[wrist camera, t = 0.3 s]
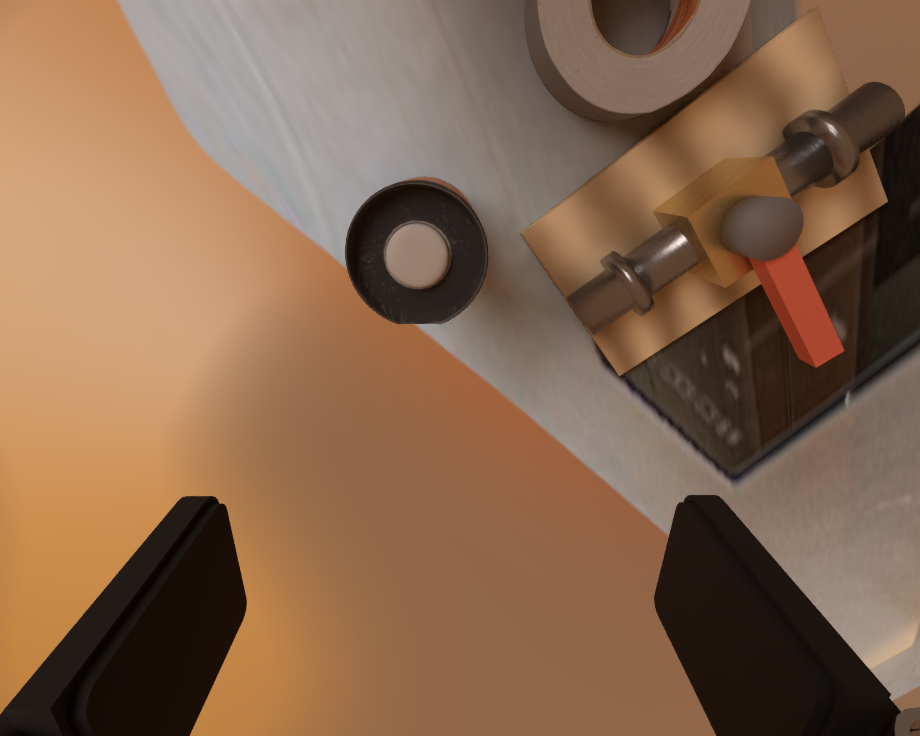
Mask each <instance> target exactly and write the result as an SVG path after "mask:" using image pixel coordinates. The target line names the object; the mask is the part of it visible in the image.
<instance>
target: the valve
mask: <svg viewBox="0 0 920 736" xmlns="http://www.w3.org/2000/svg"><path fill="white" fill-rule="evenodd" d="M904 116H905V108H904V104H903V101H902V99H901V98H900V96H899V95H898V94H897V92H896V91H895V90H893V89H892V88H891V87H889V86H887V85H885V84H883V83H878V82H870V83H866V84H864V85H863V86H861V87H860V88H858V89H857V90H855V91H854V92H853V93H851V94H850V95H848V96H847V97H846V98H844V99H843V100H841V101H840V102H839V103H837V104H836V105H834V106H833V107H832V108H830V109H829V110H828V111H822V110H809V111H806V112H804V113H802V114H801V115H800V116H798V117H797V118H796V119H794V120H793V121H791V122H790V123H789V124H787V125H786V126H785V128H784V129H783V131H782V133H783V136H784V138H785V140H786V141H784V142H783V143H781V144H780V145H779V146H777V147H776V148H774V149H773V150H772V151H770V152H769V153H767V154H766V155H765V156H763V157H748V158H729V159H723V160H721V161H720V162H718V163H717V164H716V165H714V166H713V167H712V168H710V169H709V170H707V171H706V172H705V173H703V174H702V175H701V176H699V177H698V178H696V179H695V180H694V181H692V182H691V183H690V184H688V185H687V186H686V187H684V188H683V189H681V190H680V191H679V192H677V193H676V194H675V195H673V196H672V197H670V198H669V199H668V200H666V201H665V202H664V203H662V204H661V205H659V206H658V207H657V208H655V209H654V210H653V213H654V215H655V217H656V218H657V220H658V222H659V224H660V226H661V227H662V229H661V230H660V231H658V232H657V233H656V234H654V235H653V236H652V237H650V238H649V239H647V240H646V241H645V242H643V243H642V244H640V245H639V246H638V247H636V248H635V249H633V250H632V251H631V252H629V253H628V254H626V255H625V256H624V257H622V256H621V255H620V254H618V253H617V252H615V251H612V252H610V253H609V254H608V255H606V256H605V257H603V258H602V259H601V260H600V263H601V265H602V266H603V268H604V269H605V270H604V271H603V272H601V273H600V274H598V275H597V276H596V277H594V278H593V279H591V280H590V281H589V282H587V283H586V284H584V285H583V286H582V287H580V288H579V289H577V290H576V291H575V292H573V293H572V294H571V295H569V296H568V297H566V298H567V300H568V302H569V303H570V305H571V306H572V308H573V309H574V311H575V312H576V314H577V315H578V316H579V318H580V319H581V321H582V322H583V323H584V325H585V326H586V327H587V328H588V330H589V331H590V332H591V333H592V334H593V335H596V334H597V333H599V332H600V331H602V330H603V329H605V328H606V327H608V326H609V325H611V324H612V323H614V322H615V321H616V320H618V319H619V318H621V317H622V316H624V315H625V314H627V313H628V312H630V311H631V310H633V311H634V312H636V313H637V314H638V315H639V316H644V315H645V314H646V313H648V312H649V311H651V310H652V309H654V308H655V303H654V301H653V298H652V296H653V295H654V294H656V293H657V292H659V291H660V290H662V289H663V288H665V287H666V286H668V285H669V284H671V283H672V282H674V281H675V280H676V279H678V278H679V277H681V276H682V275H684V274H685V273H690V274H692V275H695V276H697V277H700V278H702V279H705V280H707V281H709V282H712V283H714V284H717V285H719V286H722V287H724V288H726V287H728V286H729V285H731V284H732V283H734V282H735V281H737V280H738V279H740V278H741V277H743V276H744V275H746V274H747V273H749V272H750V271H752V270H753V269H754V268H753V266H752V264H751V262H750V260H749V258H748V257H745V256H742V255H738V254H735V253H733V252H731V251H730V250H728V249H727V248H726V246H725V245H724V243H723V240H722V225H723V222H724V219H725V217H726V215H727V214H728V212H729V211H730V210H731V208H732V207H733V206H734V205H736V204H737V203H738V202H740V201H741V200H743V199H745V198H748V197H751V196H770V197H784V198H789V199H791V200H793V199H795V198H796V197H798V196H799V195H801V194H802V193H804V192H805V191H807V190H808V189H810V188H811V187H813V186H816V187H819V188H831V187H834V186H836V185H837V184H839V183H840V182H842V181H843V180H845V179H846V178H848V177H849V176H851V175H852V174H853V173H854V172H855V171H856V169H857V167H858V165H859V161H860V154H861V153H862V152H864V151H865V150H867V149H868V148H870V147H871V146H872V145H874V144H875V143H877V142H878V141H880V140H881V139H883V138H884V137H886V136H887V135H889V134H890V133H892V132H893V131H894V130H896V129H897V128H898V127H900V125H901V124H902V122H903V120H904ZM806 234H807V232H806V230H805V228H804V226H803V229H802V232H801V235H800V237H799V239H800V238H802V237H803V236H805V235H806ZM799 239H798V240H799Z"/></svg>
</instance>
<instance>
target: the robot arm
mask: <svg viewBox="0 0 920 736" xmlns="http://www.w3.org/2000/svg"><path fill="white" fill-rule="evenodd" d="M654 601H655V608H656V612H657V614H658V616H659V618H660V621H661V623H662V625H663V626H664V629H665V631H666V633H667V635H668V637H669V639H670V641H671V643H672V645H673V647H674V649H675V651H676V654H677V656H678V658H679V660H680V662H681V664H682V666H683V668H684V670H685V672H686V674H687V676H688V678H689V680H690V682H691V684H692V686H693V688H694V691H695V693H696V695H697V697H698V699H699V701H700V703H701V705H702V707H703V709H704V711H705V713H706V715H707V717H708V719H709V721H710V724H711V726H712V728H713V730H714V732H715V734H716V736H920V708H919V707H918V708H909V709H904V710H903V711H902V712H901V711H900V710H899V709H898V708H897V706H896V705H895V704H894V703H893V702H892V701H891V699H890V698H889V697H890V695H891V694H890V693H889V691H888V690H887V689H886V688H885V687H884V686H883V685H882V683H881V682H880V681H879V680H878V679H877V678H876V676H875V675H874V674H873V673H872V672H871V671H870V669H869V668H868V667H867V666H866V665H865V664H864V663H863V661H862V660H861V659H860V658H859V657H858V656H857V654H856V653H855V652H854V651H853V650H852V649H851V647H850V646H849V645H848V644H847V643H846V642H845V641H844V639H843V638H842V637H841V636H840V635H839V634H838V632H837V631H836V630H835V629H834V628H833V627H832V626H831V624H830V623H829V622H828V621H827V620H826V619H825V617H824V616H823V615H822V614H821V613H820V612H819V610H818V609H817V608H816V607H815V606H814V605H813V604H812V602H811V601H810V600H809V599H808V598H807V597H806V595H805V594H804V593H803V592H802V591H801V590H800V588H799V587H798V586H797V585H796V584H795V583H794V582H793V580H792V579H791V578H790V577H789V576H788V575H787V573H786V572H785V571H784V570H783V569H782V568H781V566H780V565H779V564H778V563H777V562H776V561H775V560H774V558H773V557H772V556H771V555H770V554H769V553H768V551H767V550H766V549H765V548H764V547H763V546H762V544H761V543H760V542H759V541H758V540H757V539H756V538H755V536H754V535H753V534H752V533H751V532H750V531H749V529H748V528H747V527H746V526H745V525H744V524H743V522H742V521H741V520H740V519H739V518H738V517H737V516H736V514H735V513H734V512H733V511H732V510H731V509H730V507H729V506H728V505H727V504H726V503H725V502H724V500H723V499H721V498H720V497H719V496H716V495H689V496H687V497H686V498H685V499H684V502H681V503H679V504H678V505H677V507H676V510H675V514H674V518H673V522H672V526H671V530H670V534H669V539H668V543H667V547H666V551H665V555H664V559H663V563H662V567H661V571H660V575H659V579H658V583H657V587H656V591H655V596H654ZM246 606H247V600H246V595H245V590H244V585H243V580H242V576H241V571H240V567H239V562H238V557H237V553H236V548H235V544H234V539H233V535H232V530H231V526H230V521H229V516H228V512H227V508H226V506H225V505H224V504H219V502H218V500H217V498H216V497H213V496H186V497H182V498H181V499H180V500H179V501H178V502H177V503H176V504H175V506H174V507H173V508H172V509H171V510H170V511H169V513H168V514H167V515H166V516H165V517H164V519H163V520H162V521H161V522H160V523H159V525H158V526H157V527H156V528H155V529H154V531H153V532H152V533H151V534H150V535H149V537H148V538H147V539H146V540H145V541H144V542H143V544H142V545H141V546H140V547H139V548H138V550H137V551H136V552H135V554H133V556H132V557H131V558H130V559H129V561H128V562H127V563H126V564H125V565H124V566H123V568H122V569H121V570H120V571H119V572H118V574H117V575H116V576H115V577H114V579H113V580H112V581H111V582H110V583H109V584H108V586H107V587H106V588H105V589H104V591H103V592H102V593H101V594H100V595H99V596H98V598H97V599H96V600H95V601H94V603H93V604H92V605H91V606H90V607H89V608H88V610H87V611H86V612H85V613H84V614H83V616H82V617H81V618H80V619H79V620H78V622H77V623H76V624H75V625H74V626H73V628H72V629H71V630H70V631H69V633H68V634H67V635H66V636H65V637H64V638H63V640H62V641H61V642H60V643H59V644H58V646H57V647H56V648H55V649H54V650H53V652H52V653H51V654H50V655H49V656H48V658H47V659H46V660H45V661H44V662H43V664H42V665H41V666H40V667H39V668H38V670H37V671H36V672H35V673H34V674H33V676H32V677H31V678H30V679H29V680H28V682H27V683H26V684H25V685H24V686H23V688H22V689H21V690H20V691H19V692H18V694H17V695H16V696H15V697H14V698H13V700H12V701H11V702H10V703H9V704H8V706H7V707H6V708H5V709H4V711H3V712H2V713H1V714H0V736H190V734H191V731H192V729H193V727H194V725H195V723H196V720H197V718H198V716H199V714H200V712H201V710H202V707H203V705H204V703H205V701H206V699H207V697H208V695H209V692H210V690H211V688H212V686H213V684H214V681H215V679H216V677H217V675H218V673H219V671H220V668H221V666H222V664H223V662H224V660H225V658H226V655H227V653H228V651H229V649H230V647H231V645H232V642H233V640H234V638H235V636H236V634H237V632H238V629H239V627H240V625H241V623H242V621H243V618H244V616H245V612H246Z"/></svg>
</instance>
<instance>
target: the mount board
mask: <svg viewBox="0 0 920 736" xmlns="http://www.w3.org/2000/svg"><path fill="white" fill-rule="evenodd" d="M848 95H849V92H848V90H847V87H846V84H845V81H844V78H843V76H842V73H841V70H840V67H839V65H838V62H837V59H836V56H835V53H834V51H833V48H832V45H831V42H830V40H829V37H828V34H827V31H826V28H825V26H824V23H823V20H822V18H821V15H820V12H819V9H818V7H816V8H814V9H812V10H809V11H808V12H806V13H805V14H804V15H802V16H801V17H800V18H799V19H797V20H796V21H795V22H793V23H792V24H791V25H789V26H788V27H787V28H786V29H784V30H783V31H782V32H780V33H779V34H778V35H777V36H775V37H774V38H773V39H771V40H770V41H769V42H767V43H766V44H765V45H764V46H762V47H761V48H760V49H758V50H757V51H756V52H755V53H753V54H752V55H751V56H749V57H748V58H747V59H745V60H744V61H743V62H742V63H740V64H739V65H738V66H736V67H735V68H734V69H732V70H731V71H730V72H729V73H727V74H726V75H725V76H723V77H722V78H721V79H720V80H718V81H717V82H716V83H714V84H713V85H712V86H710V87H709V88H708V89H707V90H705V91H704V92H703V93H701V94H700V95H699V96H698V97H696V98H695V99H694V100H692V101H691V102H690V103H688V104H687V105H686V106H685V107H683V108H682V109H681V110H679V111H678V112H677V113H676V114H674V115H673V116H672V117H670V118H669V119H668V120H666V121H665V122H664V123H663V124H661V125H660V126H659V127H657V128H656V129H655V130H654V131H652V132H651V133H650V134H648V135H647V136H646V137H644V138H643V139H642V140H641V141H639V142H638V143H637V144H635V145H634V146H633V147H632V148H630V149H629V150H628V151H626V152H625V153H624V154H622V155H621V156H620V157H619V158H617V159H616V160H615V161H613V162H612V163H611V164H610V165H608V166H607V167H606V168H604V169H603V170H602V171H600V172H599V173H598V174H597V175H595V176H594V177H593V178H591V179H590V180H589V181H587V182H586V183H585V184H584V185H582V186H581V187H580V188H578V189H577V190H576V191H575V192H573V193H572V194H571V195H569V196H568V197H567V198H565V199H564V200H563V201H562V202H560V203H559V204H558V205H556V206H555V207H554V208H553V209H551V210H550V211H549V212H547V213H546V214H545V215H543V216H542V217H541V218H540V219H538V220H537V221H536V222H534V223H533V224H532V225H531V226H529V227H528V228H527V229H525V230H524V231H523V232H521V233H520V234H521V235H522V237H523V238H524V240H525V241H526V242H527V244H528V245H529V247H530V248H531V250H532V251H533V253H534V254H535V255H536V257H537V258H538V260H539V261H540V263H541V264H542V266H543V267H544V268H545V270H546V271H547V273H548V274H549V276H550V277H551V279H552V280H553V281H554V283H555V284H556V286H557V287H558V289H559V290H560V292H561V293H562V294H563V296H564V297H565V299H566V300H567V298H566V297H568V296H569V295H571V294H572V293H573V292H575V291H576V290H577V289H579V288H580V287H582V286H583V285H584V284H586V283H587V282H589V281H590V280H591V279H593V278H594V277H596V276H597V275H598V274H600V273H601V272H603V271H604V270H605V269H604V268H603V266H602V265H601V263H600V260H601V259H602V258H603V257H605V256H606V255H608V254H609V253H610V252H612V251H615V252H617V253H618V254H620V255H621V256H622V257H624V256H625V255H626V254H628V253H629V252H631V251H632V250H633V249H635V248H636V247H638V246H639V245H640V244H642V243H643V242H645V241H646V240H647V239H649V238H650V237H652V236H653V235H654V234H656V233H657V232H658V231H660V230H661V229H662V227H661V226H660V224H659V222H658V220H657V218H656V217H655V215H654V213H653V210H654V209H655V208H657V207H658V206H659V205H661V204H662V203H664V202H665V201H666V200H668V199H669V198H670V197H672V196H673V195H675V194H676V193H677V192H679V191H680V190H681V189H683V188H684V187H686V186H687V185H688V184H690V183H691V182H692V181H694V180H695V179H696V178H698V177H699V176H701V175H702V174H703V173H705V172H706V171H707V170H709V169H710V168H712V167H713V166H714V165H716V164H717V163H718V162H720V161H721V160H723V159H729V158H748V157H763V156H765V155H766V154H767V153H769V152H770V151H772V150H773V149H774V148H776V147H777V146H779V145H780V144H781V143H783V142H784V141H786V140H785V138H784V136H783V133H782V131H783V129H784V128H785V126H786V125H787V124H789V123H790V122H791V121H793V120H794V119H796V118H797V117H798V116H800V115H801V114H802V113H804V112H806V111H809V110H822V111H828V110H829V109H830V108H832V107H833V106H834V105H836V104H837V103H839V102H840V101H841V100H843V99H844V98H846V97H847V96H848ZM793 201H795V202H796V203H797V204H798V205H799V206H800V208H801V210H802V213H803V217H804V223H803V226H804V228H805V230H806V232H807V234H806V235H805V236H803V237H802V238H800V239H799V240H797V242H796V245H797V247H798V250H799V252H800V254H801V256H802V257H803V256H805V255H806V254H808V253H809V252H811V251H812V250H814V249H816V248H817V247H819V246H820V245H822V244H823V243H825V242H826V241H828V240H829V239H831V238H832V237H834V236H836V235H837V234H839V233H840V232H842V231H843V230H845V229H846V228H848V227H849V226H851V225H852V224H854V223H855V222H857V221H859V220H860V219H862V218H863V217H865V216H866V215H868V214H869V213H871V212H872V211H874V210H875V209H877V208H878V207H880V206H882V205H883V204H885V203H886V202H888V201H887V198H886V195H885V192H884V190H883V187H882V184H881V181H880V178H879V176H878V173H877V170H876V167H875V165H874V162H873V159H872V156H871V153H870V151H869V148H868V149H867V150H865V151H864V152H862V153H861V154H860V161H859V165H858V167H857V169H856V171H855V172H854V173H853V174H852V175H851V176H849V177H848V178H846V179H845V180H843V181H842V182H840V183H839V184H837V185H836V186H834V187H831V188H819V187H816V186H813V187H811V188H810V189H808V190H807V191H805V192H804V193H802V194H801V195H799V196H798V197H796V198H795V199H793ZM760 284H761V282H760V280H759V278H758V276H757V274H756V272H755V270H754V269H753V270H752V271H750V272H749V273H747V274H746V275H744V276H743V277H741V278H740V279H738V280H737V281H735V282H734V283H732V284H731V285H729V286H728V287H726V288H724V287H722V286H719V285H717V284H714V283H712V282H709V281H707V280H705V279H702V278H700V277H697V276H695V275H692V274H690V273H685V274H684V275H682V276H681V277H679V278H678V279H676V280H675V281H674V282H672V283H671V284H669V285H668V286H666V287H665V288H663V289H662V290H660V291H659V292H657V293H656V294H654V295H653V296H652V298H653V301H654V303H655V308H654V309H652V310H651V311H649V312H648V313H646V314H645V315H644V316H639V315H638V314H637V313H636V312H634V311H633V310H631V311H630V312H628V313H627V314H625V315H624V316H622V317H621V318H619V319H618V320H616V321H615V322H614V323H612V324H611V325H609V326H608V327H606V328H605V329H603V330H602V331H600V332H599V333H597V334H596V335H593V334H592V333H591V332H590V331H589V330H588V328H587V327H586V326H585V325H584V323H583V322H582V321H581V322H582V323H583V325H584V326H585V328H586V329H587V331H588V332H589V333H590V335H591V336H592V338H593V339H594V341H595V342H596V344H597V345H598V347H599V348H600V349H601V351H602V352H603V354H604V355H605V357H606V358H607V360H608V361H609V362H610V364H611V365H612V367H613V368H614V370H615V371H616V372H617V374H618V375H619V376H621V375H622V374H624V373H625V372H627V371H628V370H630V369H631V368H633V367H634V366H636V365H638V364H639V363H641V362H642V361H644V360H645V359H647V358H648V357H650V356H651V355H653V354H654V353H656V352H657V351H659V350H661V349H662V348H664V347H665V346H667V345H668V344H670V343H671V342H673V341H674V340H676V339H677V338H679V337H681V336H682V335H684V334H685V333H687V332H688V331H690V330H691V329H693V328H694V327H696V326H697V325H699V324H700V323H702V322H704V321H705V320H707V319H708V318H710V317H711V316H713V315H714V314H716V313H717V312H719V311H720V310H722V309H723V308H725V307H727V306H728V305H730V304H731V303H733V302H734V301H736V300H737V299H739V298H740V297H742V296H743V295H745V294H746V293H748V292H750V291H751V290H753V289H754V288H756V287H757V286H759V285H760ZM567 302H568V300H567ZM568 303H569V302H568ZM569 305H570V303H569ZM570 306H571V305H570ZM571 307H572V306H571ZM572 309H573V308H572ZM573 310H574V309H573ZM574 312H575V311H574ZM575 313H576V312H575ZM576 315H577V314H576ZM577 316H578V315H577ZM578 318H579V316H578ZM579 319H580V318H579ZM580 320H581V319H580Z"/></svg>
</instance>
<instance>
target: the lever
mask: <svg viewBox="0 0 920 736" xmlns="http://www.w3.org/2000/svg"><path fill="white" fill-rule="evenodd" d="M803 223H804V217H803V213H802V210H801V208H800V206H799V205H798V204H797V203H796V202H795V201H793V200H791V199H789V198H784V197H770V196H751V197H748V198H745V199H743V200H741V201H740V202H738V203H737V204H736V205H734V206H733V207H732V208H731V210H730V211H729V212H728V214H727V215H726V217H725V219H724V222H723V225H722V240H723V243H724V245H725V246H726V248H727V249H728V250H730V251H731V252H733V253H735V254H738V255H742V256H745V257H748V258H749V260H750V262H751V264H752V266H753V268H754V270H755V272H756V274H757V276H758V278H759V280H760V282H761V284H762V286H763V288H764V290H765V292H766V294H767V296H768V298H769V300H770V302H771V304H772V306H773V308H774V310H775V312H776V314H777V316H778V318H779V320H780V322H781V324H782V326H783V328H784V330H785V332H786V334H787V336H788V338H789V340H790V342H791V344H792V346H793V348H794V350H795V352H796V354H797V356H798V358H799V359H801V360H803V361H804V362H806V363H808V364H810V365H812V366H814V367H818V366H820V365H822V364H823V363H825V362H827V361H828V360H830V359H832V358H833V357H835V356H837V355H838V354H840V353H842V352H843V351H844V349H843V346H842V344H841V342H840V340H839V338H838V335H837V333H836V331H835V329H834V327H833V324H832V322H831V320H830V318H829V316H828V313H827V311H826V309H825V307H824V305H823V302H822V300H821V298H820V296H819V294H818V291H817V289H816V287H815V285H814V283H813V280H812V278H811V276H810V274H809V272H808V269H807V267H806V265H805V263H804V261H803V258H802V256H801V254H800V252H799V250H798V247H797V245H796V242H797V240H798V239H799V237H800V235H801V232H802V229H803Z"/></svg>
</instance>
